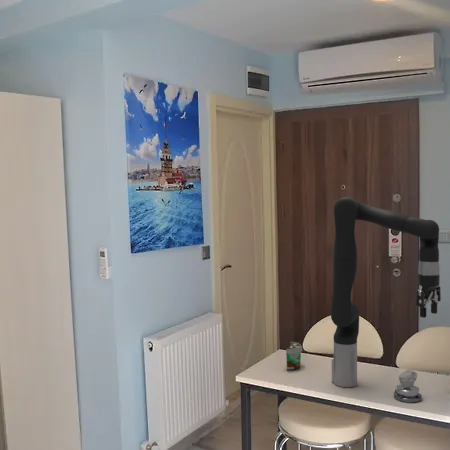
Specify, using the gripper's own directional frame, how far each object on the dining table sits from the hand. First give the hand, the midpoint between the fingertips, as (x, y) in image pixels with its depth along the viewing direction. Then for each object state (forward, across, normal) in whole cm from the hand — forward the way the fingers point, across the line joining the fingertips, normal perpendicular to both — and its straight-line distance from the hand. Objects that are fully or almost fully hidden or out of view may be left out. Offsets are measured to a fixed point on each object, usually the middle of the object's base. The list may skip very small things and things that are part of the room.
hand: (428, 315), depth 205 cm
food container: (+30, +13, -55) cm, 64 cm away
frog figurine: (+27, +10, -3) cm, 29 cm away
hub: (+30, +10, -3) cm, 32 cm away
